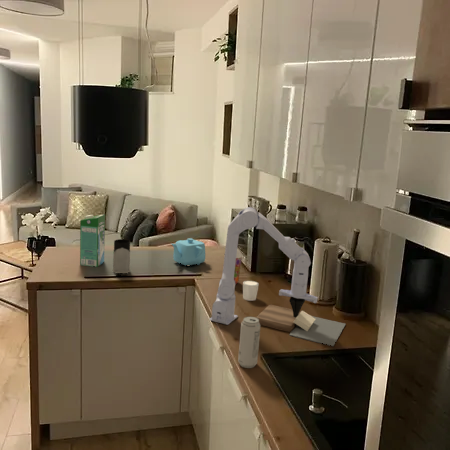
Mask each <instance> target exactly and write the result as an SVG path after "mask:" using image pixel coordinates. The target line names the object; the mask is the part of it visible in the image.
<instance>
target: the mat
mask: <svg viewBox="0 0 450 450" xmlns="http://www.w3.org/2000/svg"><path fill="white" fill-rule="evenodd" d="M311 316H312V317H313V318H315V321H314V323H313V324H312V326H311V327H310V328H309V330H308V331H306V330H304V329H303V328H301V327H300V326H298V325H296V326H295V327H294V329H293V330H292V331H291V332H289V336H290V337H294V338H297V339H301V340H306V341H311V342H315V343H319V344H322V343H323V344H322V345H326V344H327V345H326V346H330V345H331V346H330V347H334V346H335V344H336V343H335V342H337V340H338V338H339V337H340V336H341V334H342V332H343V331H344V328H345V326H346V325H347V324H346V323H345V322H339V321H335V320H331V319H327V318H322V317H318V316H317V317H316V316H313V315H311Z"/></svg>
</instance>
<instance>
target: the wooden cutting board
mask: <svg viewBox="0 0 450 450" xmlns="http://www.w3.org/2000/svg"><path fill="white" fill-rule="evenodd" d="M301 311H302V310H300V312H299V314H300V313H301ZM255 317H256V318H258V319H259V323H260V325H261V326H265V327H268V328H272V329H276V330H280V331H284V332H289V333H291V332H292V331H293V330H294V328H295V327H296V326H297V324H295V323H294V320H295V318H296V317H293V310H292V308H288V307H282V306H279V305H275V304H268V306H266V307H265V308H264V309H263V310H262V311H261V312H259V314H258V315H257V316H255Z"/></svg>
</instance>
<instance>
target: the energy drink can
mask: <svg viewBox="0 0 450 450" xmlns="http://www.w3.org/2000/svg"><path fill="white" fill-rule="evenodd" d="M256 317H257V316H245V317H243V319H242V321H241V323H240V332H239V333H240V334H239V346H238V347H239V348H238V355H237V356H238V357H237V358H238V360H237V362H238V363H239V366H240V367H242V368H245V369H253V368H254V367H256V365H257V364H258V360H259V359H258V357H259V348H260V337H261V326H262V325H260V323H259V319H258V318H256Z"/></svg>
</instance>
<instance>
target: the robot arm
mask: <svg viewBox="0 0 450 450" xmlns="http://www.w3.org/2000/svg"><path fill="white" fill-rule="evenodd" d="M253 228H255V229H256V230H264V231H265V232H266V233H267V234H268V235H269V236H270V237H271V238H272V239H274V240H275V241H276V243H278V249H279V250H280V251H281V252H283V254H285V256H286V257H287V258H289V259H290V260H291V261H293V262H294V263H293V270H292V278H291V288H290V290H289V289H282V288H281V289H280V290H278V291H279V292H278V296H282V297H283V296H284V297H287V298H288V297H289V304H290V306H291V309H292V310H293V317H297V316H298V315H299V312H300V311H301V309H302V307H303V305H304V303H305V302H306V301H307V302H311V303H314V304H317V303H318V298H319V297H318V296H315V295H313V294H310V293H307V286H308V281H309V280H308V278H309V267H310V266H311V264H312V262H311V258H310V256H309V253H308V252H307V250H305V249H304V247H301V246H300V245H298V243H296V239H295V238H294V237H293V238H291V237H290V236H284V235H283V233H281V232H280V231H279V229H278V228H276V227H275V226H274V224H273V223H272V222H271V221H270V220H269V219H268V218H267V217H266V216H264V215H263V214H262V213H261V212H258V211H257V209H256V208H254V207H251V206H248V207H246V208H243V209H242V210H240V211H239V212H238V214H237V215H236V216H235V217H234V218H233V219H232V221H231V222H230V223H229V224H228V227H227V233H226V241H225V248H224V249H225V251H224V254H225V255H224V256H225V257H223V259H224V260H223V265H222V266H223V268H222V276H221V278H220V280H219V283H218V284H219V285H218V288H217V293H216V299H215V301H214V302H213V303H212V308H211V309H212V310H211V317H210V318H209V321H211V322H216V323H220V324H223V325H227V326H228V325H230V324H231V323H232V322H233V321H234V320H236V319H237V318H238V317H239V316H238V315H237V314H235V309H236V308H235V307H236V294H235V291H236V290H235V288H236V284H235V280H234V271H235V263H236V255H237V249H238V247H239V237H240V234H241V233H242V232H244V231H246V230H250V229H253Z"/></svg>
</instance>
